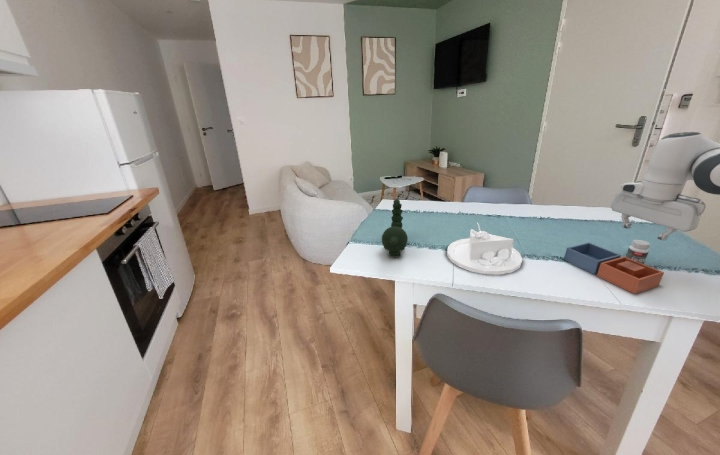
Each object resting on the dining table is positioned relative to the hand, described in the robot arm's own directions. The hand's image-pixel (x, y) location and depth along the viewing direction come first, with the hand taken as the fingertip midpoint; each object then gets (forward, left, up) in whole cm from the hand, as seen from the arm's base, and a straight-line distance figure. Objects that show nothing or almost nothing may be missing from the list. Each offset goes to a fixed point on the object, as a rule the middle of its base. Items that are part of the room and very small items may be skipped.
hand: (643, 233), depth 90 cm
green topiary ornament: (+42, +65, -12) cm, 78 cm away
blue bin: (+6, +11, -11) cm, 17 cm away
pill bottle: (0, 0, -12) cm, 12 cm away
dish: (+24, +39, -12) cm, 47 cm away
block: (-5, +11, -11) cm, 16 cm away
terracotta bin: (-5, +11, -11) cm, 17 cm away
